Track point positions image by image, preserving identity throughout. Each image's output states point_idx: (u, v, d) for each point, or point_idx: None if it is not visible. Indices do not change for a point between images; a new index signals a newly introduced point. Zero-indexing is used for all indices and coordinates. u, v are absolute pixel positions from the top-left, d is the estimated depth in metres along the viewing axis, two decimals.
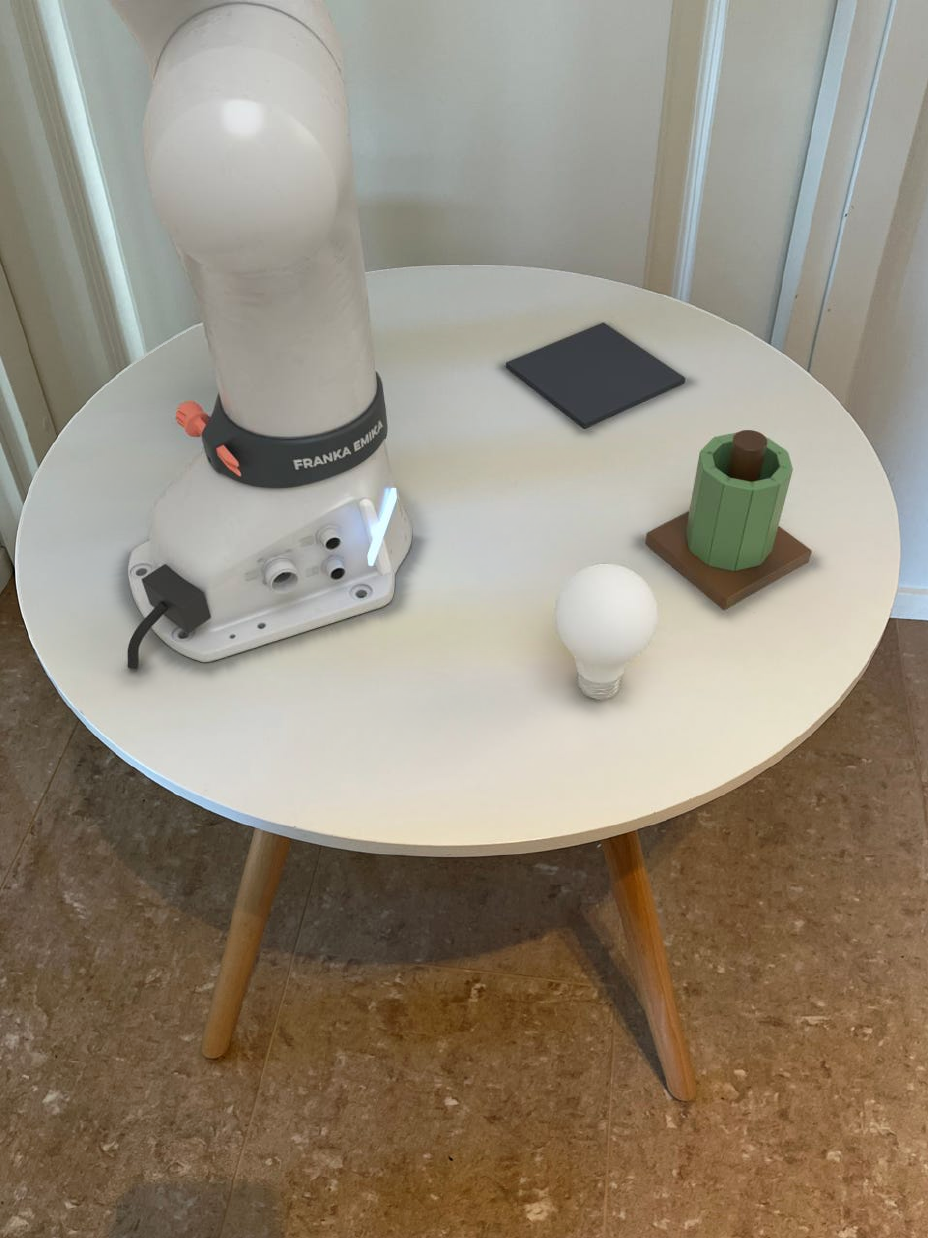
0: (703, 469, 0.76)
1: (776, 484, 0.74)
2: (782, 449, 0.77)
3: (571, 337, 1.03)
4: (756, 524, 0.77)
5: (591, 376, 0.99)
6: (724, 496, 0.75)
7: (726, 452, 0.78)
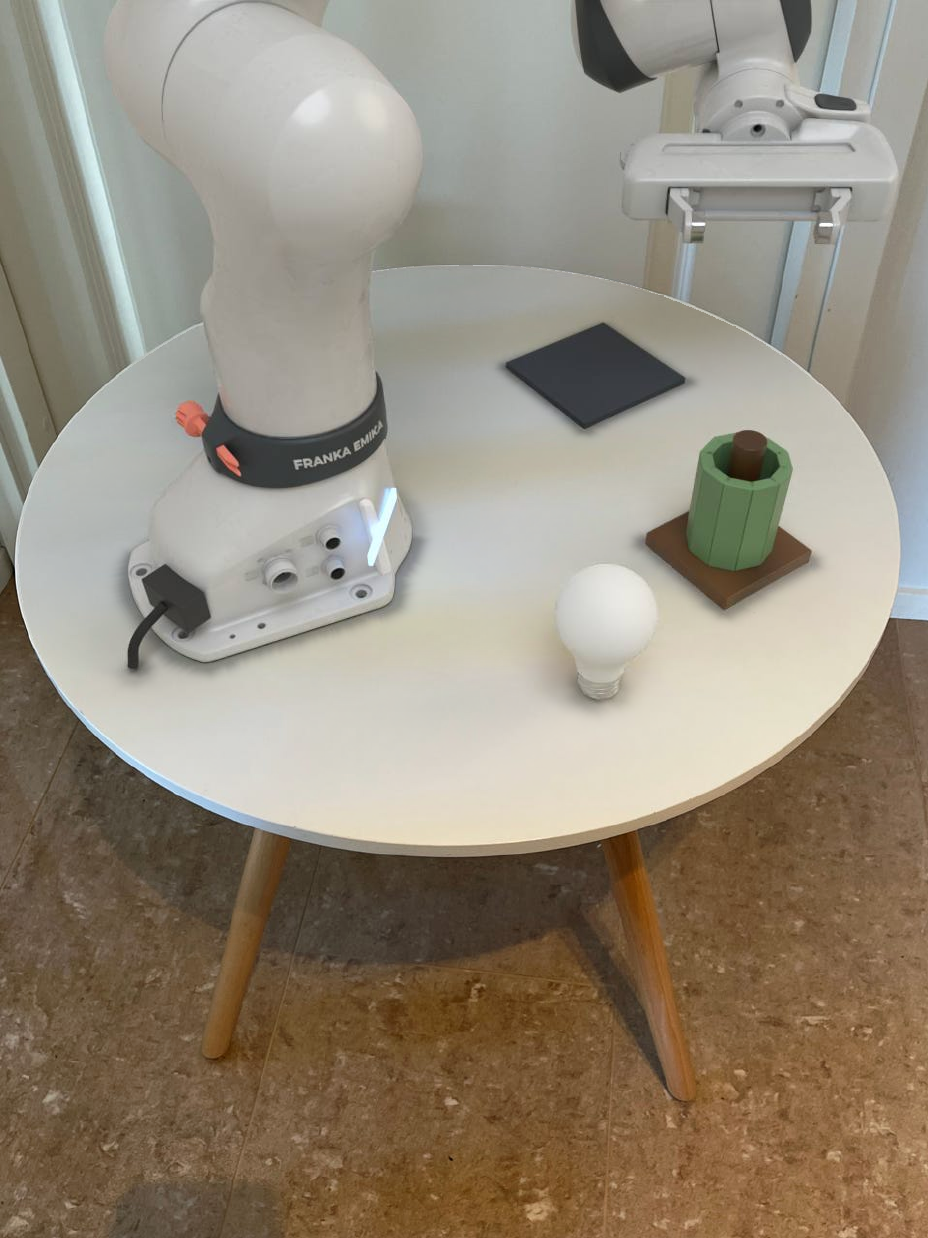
0: (703, 469, 0.76)
1: (776, 484, 0.74)
2: (782, 449, 0.77)
3: (571, 337, 1.03)
4: (756, 524, 0.77)
5: (591, 376, 0.99)
6: (724, 496, 0.75)
7: (726, 452, 0.78)
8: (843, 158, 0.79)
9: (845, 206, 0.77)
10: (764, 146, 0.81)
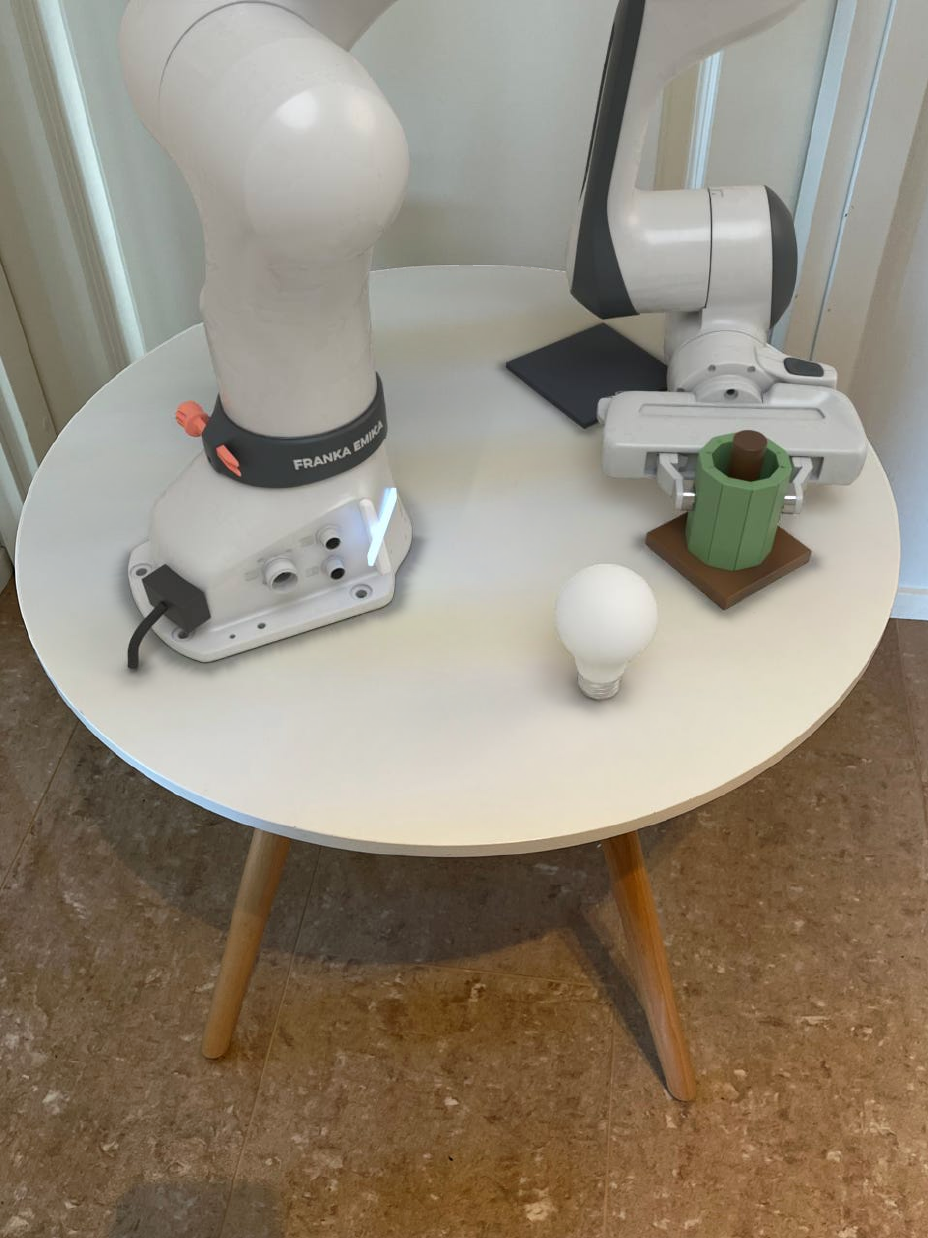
0: (702, 469, 0.76)
1: (775, 484, 0.74)
2: (781, 449, 0.77)
3: (571, 337, 1.03)
4: (755, 524, 0.77)
5: (591, 376, 0.99)
6: (723, 496, 0.75)
7: (725, 452, 0.78)
8: (814, 425, 0.82)
9: (807, 477, 0.79)
10: (737, 409, 0.84)
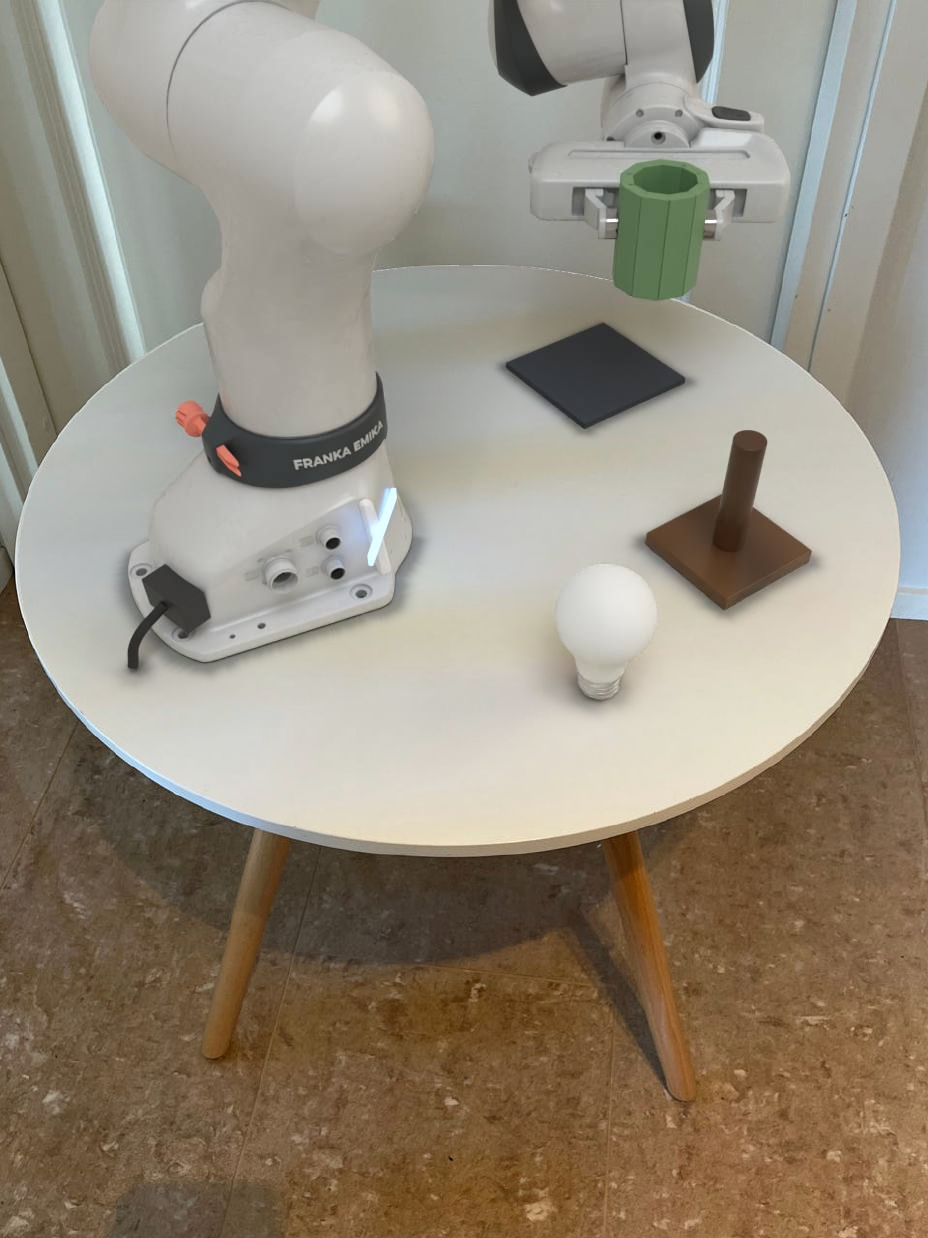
0: (622, 186, 0.77)
1: (692, 195, 0.75)
2: (701, 170, 0.78)
3: (571, 337, 1.03)
4: (675, 243, 0.78)
5: (591, 376, 0.99)
6: (642, 211, 0.76)
7: (648, 178, 0.80)
8: (738, 163, 0.83)
9: (729, 205, 0.80)
10: (665, 153, 0.85)
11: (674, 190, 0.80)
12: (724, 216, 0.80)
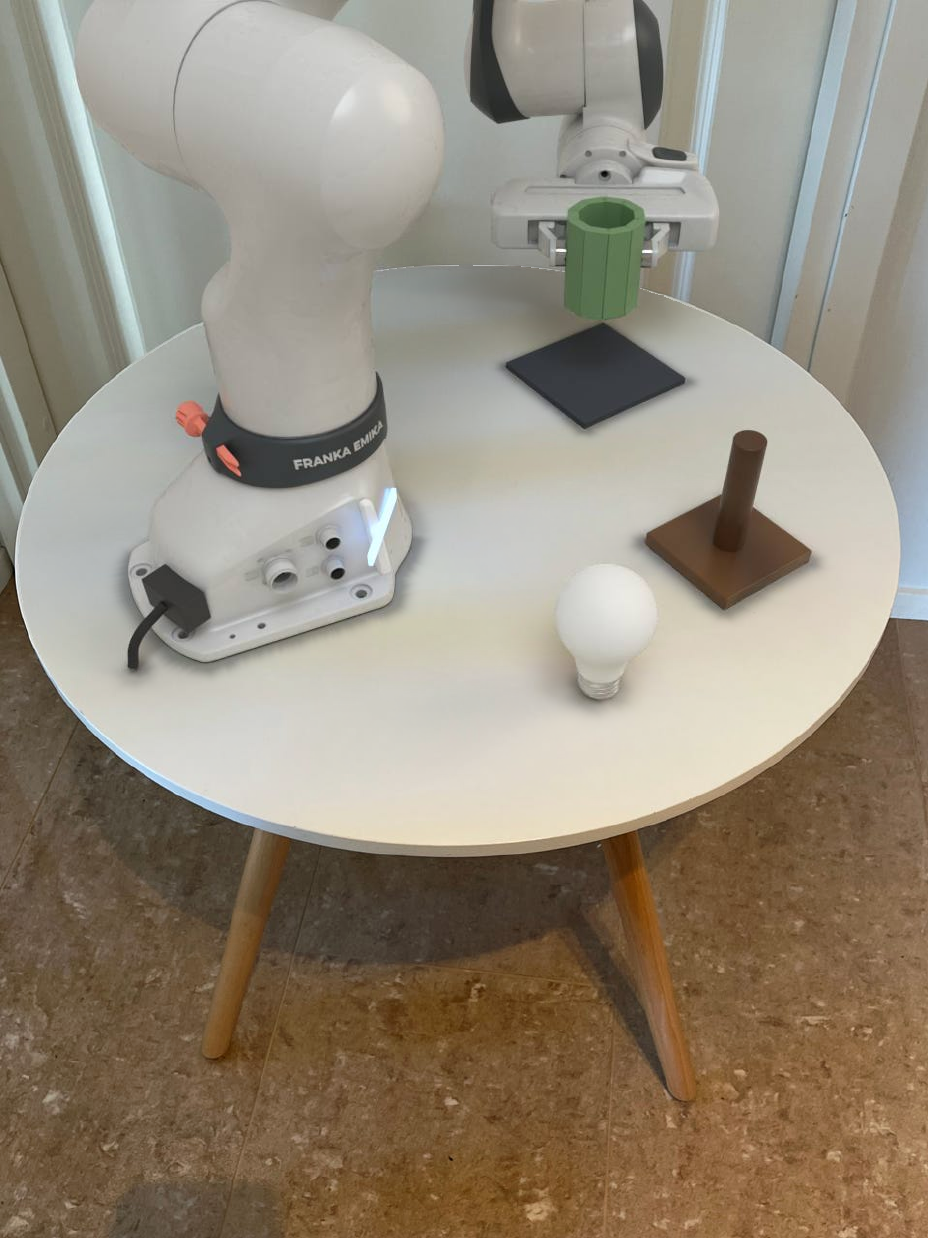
0: (568, 221, 0.88)
1: (629, 230, 0.86)
2: (639, 207, 0.89)
3: (571, 337, 1.03)
4: (615, 270, 0.89)
5: (591, 376, 0.99)
6: (586, 243, 0.87)
7: (592, 213, 0.91)
8: (674, 198, 0.94)
9: (664, 237, 0.91)
10: (611, 189, 0.96)
11: (616, 223, 0.91)
12: (660, 246, 0.91)
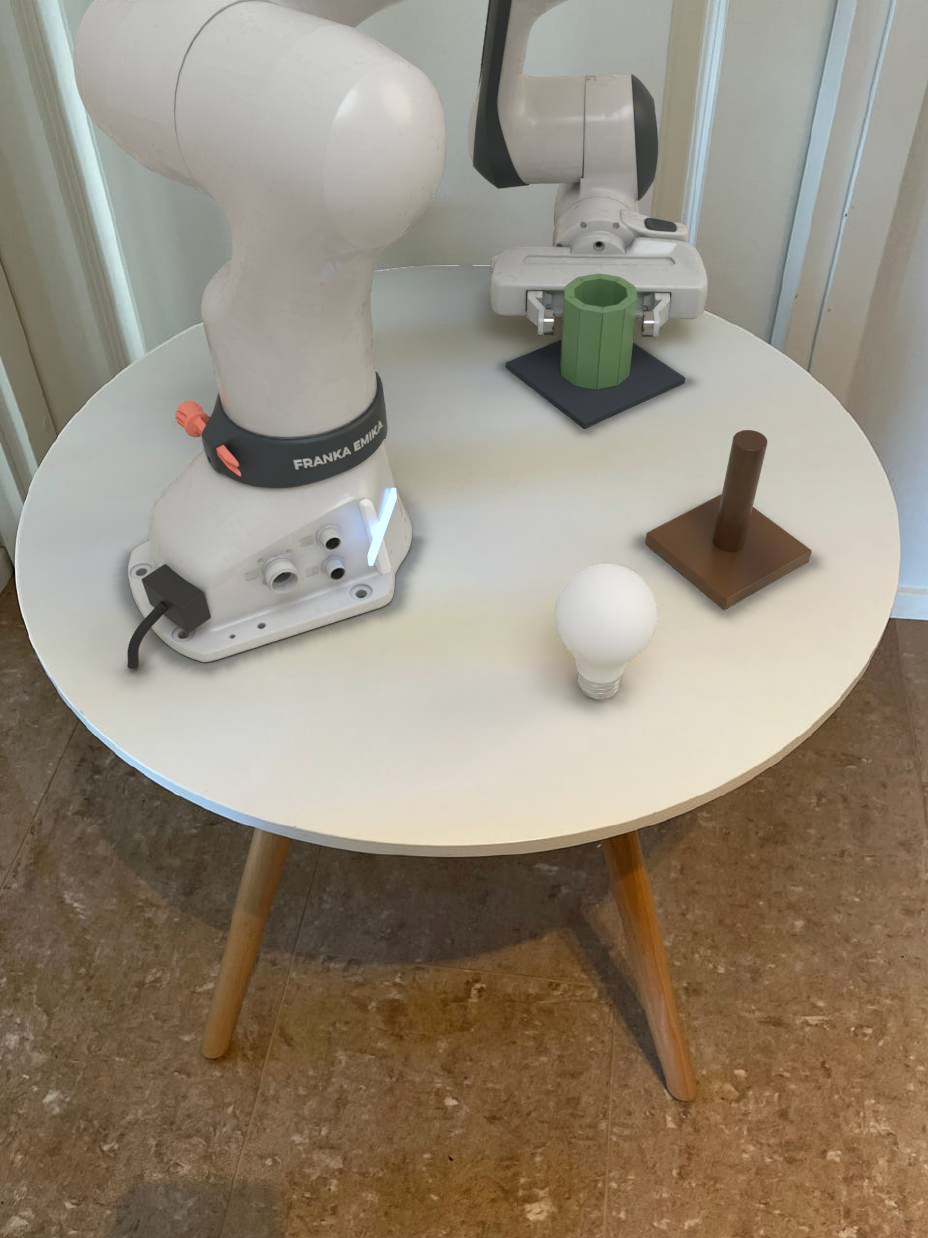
0: (565, 298, 0.93)
1: (621, 308, 0.92)
2: (631, 285, 0.94)
3: None
4: (609, 345, 0.94)
5: None
6: (581, 319, 0.93)
7: (587, 289, 0.96)
8: (665, 269, 0.99)
9: (665, 307, 0.96)
10: (604, 258, 1.01)
11: (610, 299, 0.96)
12: (661, 316, 0.96)
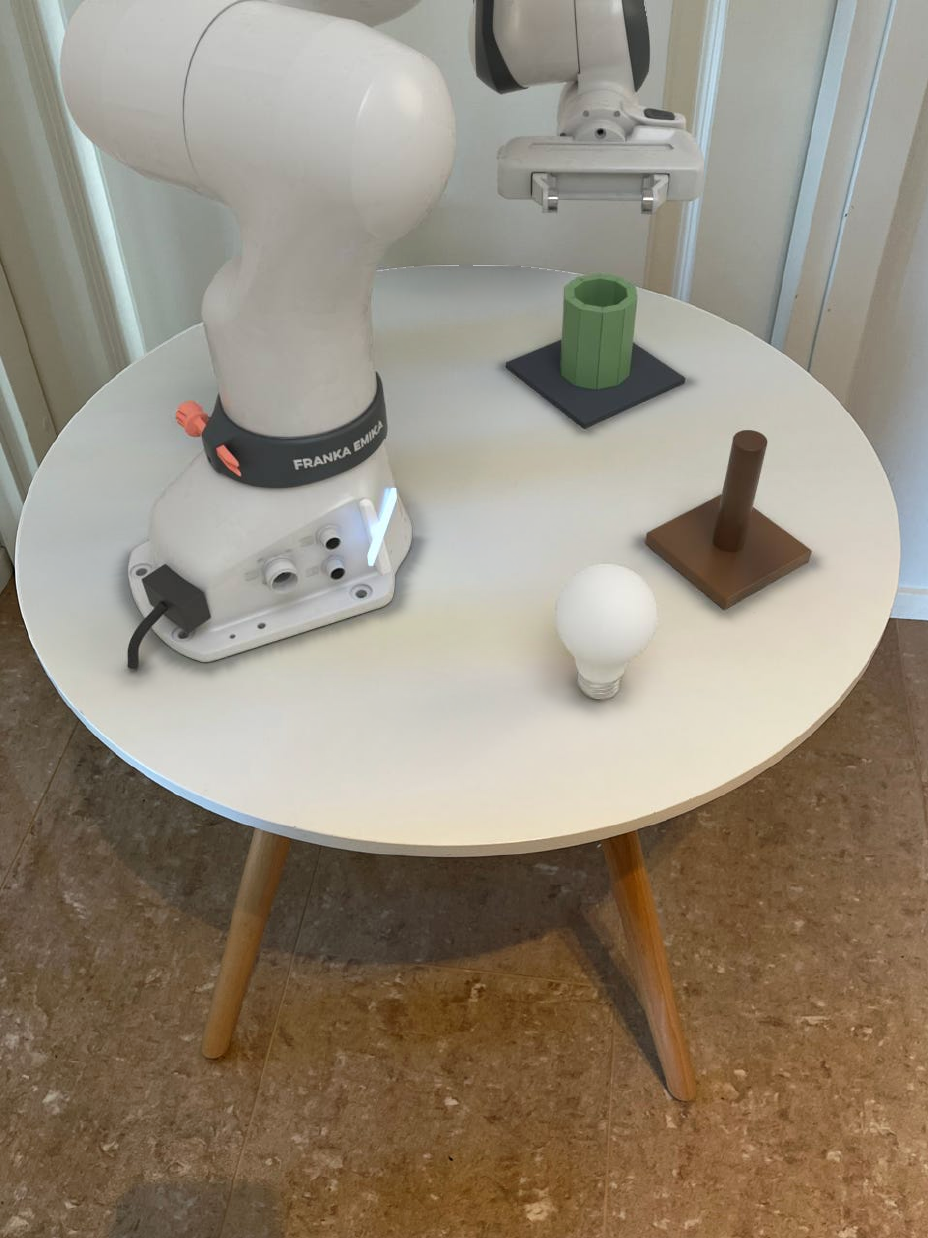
0: (565, 298, 0.93)
1: (621, 308, 0.92)
2: (631, 285, 0.94)
3: None
4: (609, 345, 0.94)
5: None
6: (581, 319, 0.93)
7: (587, 289, 0.96)
8: (663, 153, 1.04)
9: (663, 186, 1.01)
10: (606, 145, 1.06)
11: (610, 299, 0.96)
12: (660, 195, 1.01)
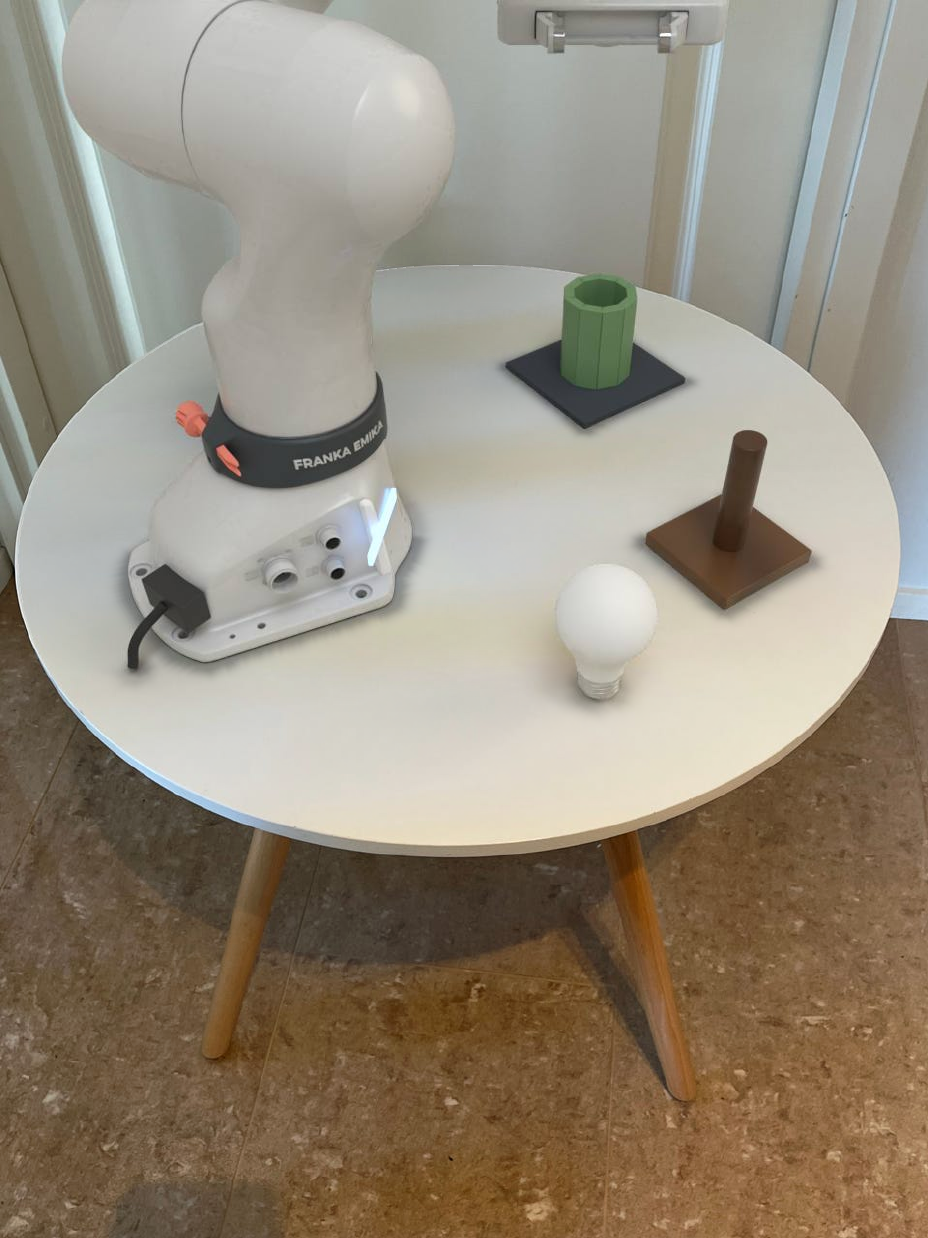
0: (565, 298, 0.93)
1: (621, 308, 0.92)
2: (631, 285, 0.94)
3: None
4: (609, 345, 0.94)
5: None
6: (581, 319, 0.93)
7: (587, 289, 0.96)
8: None
9: (682, 23, 0.91)
10: None
11: (610, 299, 0.96)
12: (678, 33, 0.91)
